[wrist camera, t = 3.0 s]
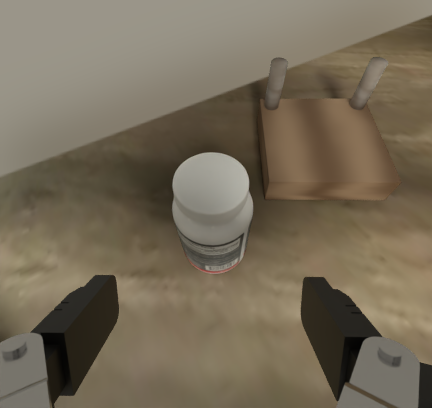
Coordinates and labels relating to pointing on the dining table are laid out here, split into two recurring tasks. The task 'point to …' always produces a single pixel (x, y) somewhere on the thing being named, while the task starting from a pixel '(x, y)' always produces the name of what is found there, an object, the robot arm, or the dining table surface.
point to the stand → (323, 143)
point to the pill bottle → (212, 211)
